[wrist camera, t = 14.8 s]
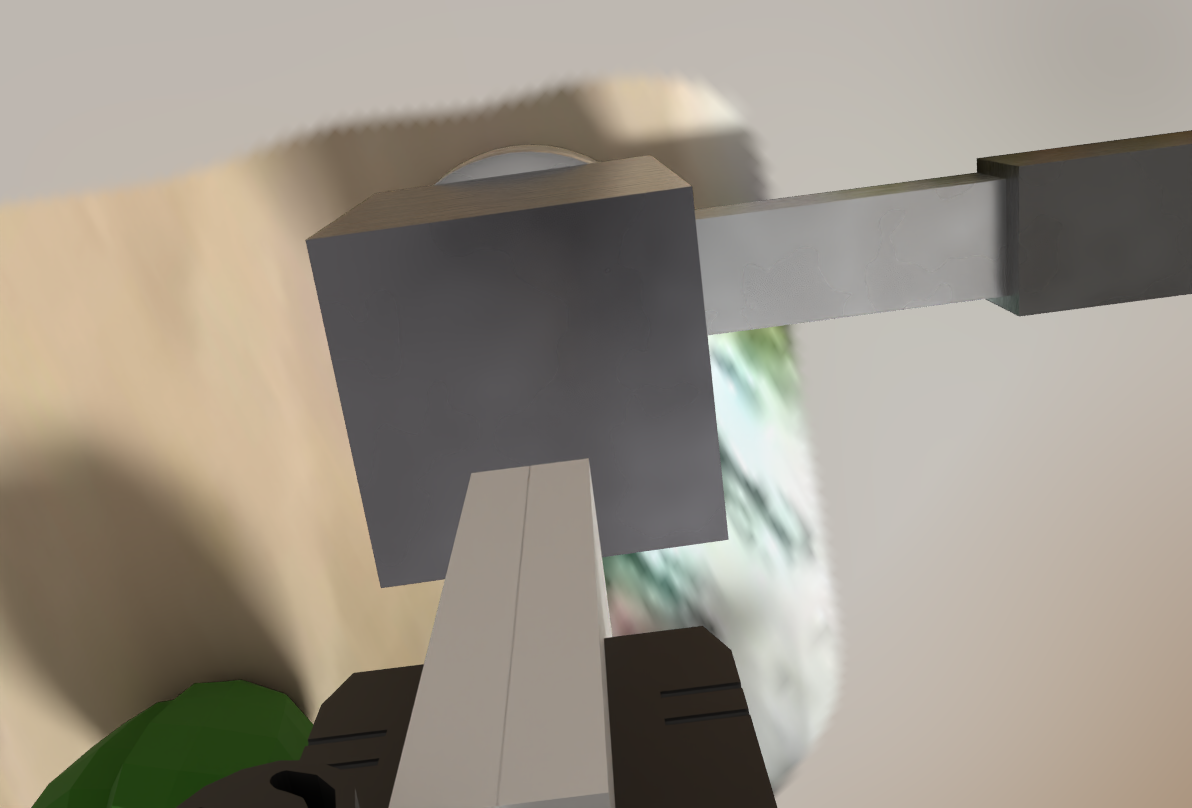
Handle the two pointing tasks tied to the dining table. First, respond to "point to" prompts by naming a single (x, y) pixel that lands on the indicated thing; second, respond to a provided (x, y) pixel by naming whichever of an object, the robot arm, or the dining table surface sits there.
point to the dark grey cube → (524, 353)
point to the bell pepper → (183, 748)
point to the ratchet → (942, 236)
